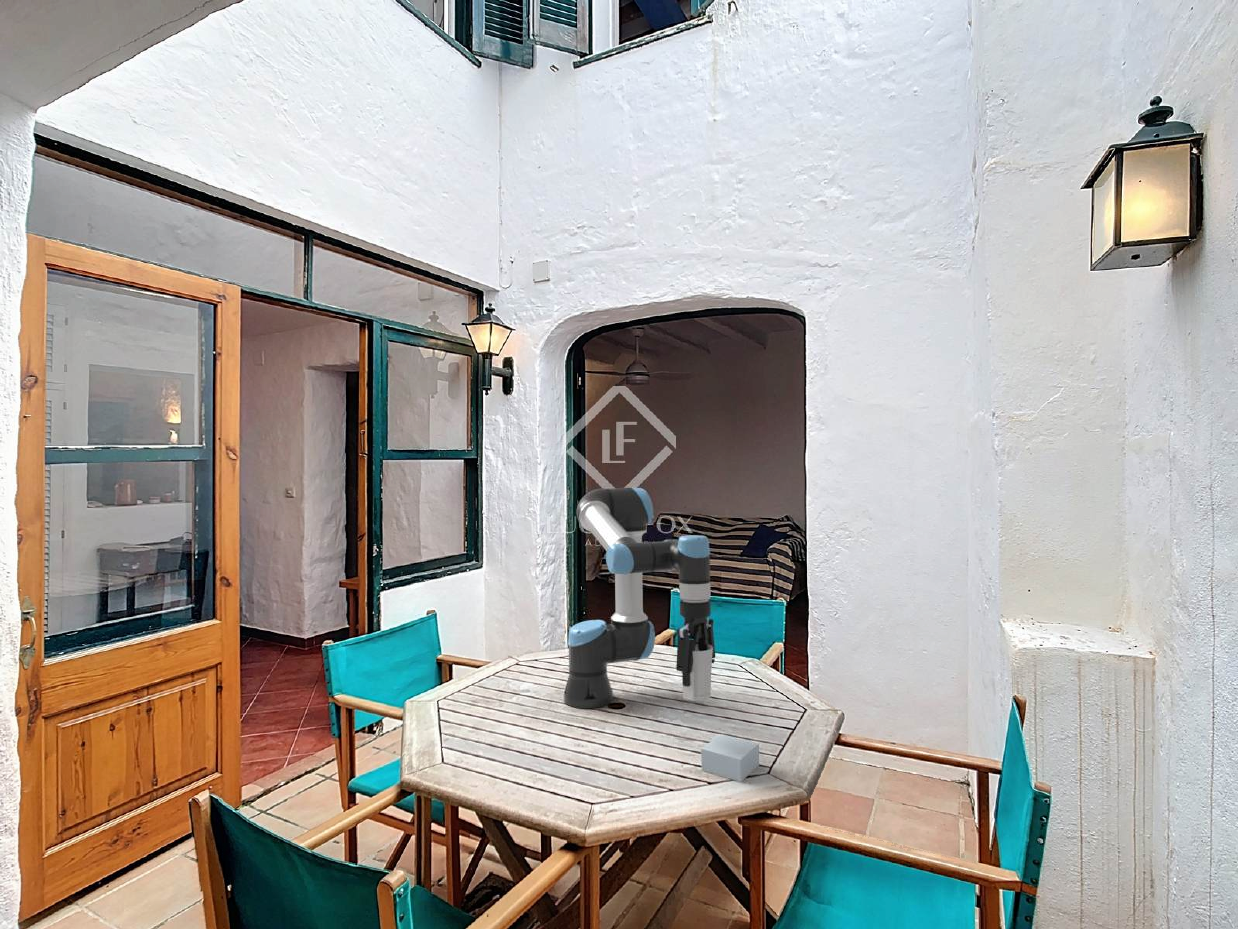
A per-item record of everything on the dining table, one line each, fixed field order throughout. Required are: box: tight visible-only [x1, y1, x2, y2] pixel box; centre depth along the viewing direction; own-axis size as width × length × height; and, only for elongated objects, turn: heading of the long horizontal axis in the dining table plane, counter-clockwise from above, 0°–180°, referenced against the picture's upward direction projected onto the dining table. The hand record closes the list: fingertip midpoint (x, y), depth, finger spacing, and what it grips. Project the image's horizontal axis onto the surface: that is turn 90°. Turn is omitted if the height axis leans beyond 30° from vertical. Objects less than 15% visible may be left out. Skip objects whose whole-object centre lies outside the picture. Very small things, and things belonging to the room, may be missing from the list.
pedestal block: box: [700, 733, 760, 783], centre depth 150 cm, size 10×10×5 cm
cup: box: [686, 644, 713, 702], centre depth 155 cm, size 8×8×12 cm
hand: (697, 694), depth 155 cm, fingers closed on cup, 7 cm apart
